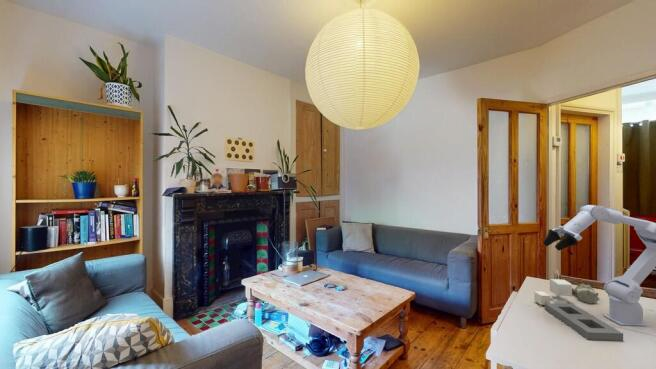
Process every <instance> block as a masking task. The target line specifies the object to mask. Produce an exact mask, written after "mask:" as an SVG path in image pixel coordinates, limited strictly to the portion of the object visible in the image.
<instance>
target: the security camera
mask: <svg viewBox="0 0 656 369" xmlns="http://www.w3.org/2000/svg"><path fill="white" fill-rule="evenodd" d="M572 288H573V285H572V283H571V282H569V281H567V280H565V279H559V278H558V279H557V278H555V279H554V278H550V279H549V291H550V292H551V293H552V294H554V295H550V301H552V302H553V303H559V304H569V302H568V299H565V298H564V297H565V296H566V297H572V296H573V293H572Z"/></svg>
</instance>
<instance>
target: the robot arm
mask: <svg viewBox="0 0 656 369" xmlns="http://www.w3.org/2000/svg"><path fill="white" fill-rule="evenodd" d="M596 221H599V222H600V221H601V222H604V223H608V224H612V225H618V224H624V225H629V226H631V227H634V228H633V229H634V230H635V232H636V234H637V236H638V237H639V240H641V242H642V243H643V244H644V245H645V247H646V248H645V249H644V250H643V251H642V253H641V254H640V255H639V256H638V257H637V258H636V260H635V261H633V263H632V264H631V265H630V266H629V267H628V269H627V270H626V271H625V272H624V273H623V275H621V276H620V275H619V276H615V277H613V278H612V279H611V280H608V281H606V283H605V284H604V286H603V289H604V292H605V293H606V294H607V297H609V298H608V300H609V301H608V303H609V306H608V308H609V311H608V312H609V313H608V314H605V313H604V314H603V316H604V317H606V318H607V319H609V320H611V321H613V322H614V323H616V324H618V325H620V326H639V327H640V326H644V327H645V326H646V323H645V324H644V309H643V307H642V305H641V304H640V302H639V301H640V299H641V295H642V294H643V293H644V290H643V289H642V287H641V284H642V283H643V282H644V281H645V279H646V278H647V277H648V276H649V275H650V274H651V273H652V272H653V270H654V269H655V268H656V222H653V221H649V220H646V219H641V218H637V217H636V218H635V217H631V216H626V215H624V214H623V213H622V212H621V211H619V210H618V209H617V208H607V207H605V206H602V205H594V204H587V205H584V206H581V207H580V210H579V212H578V213H577V214H576V215H575V216H574V217H572V219H570V220H569V221H568V222H566V223H565V224H564V225H563V226H562V225H559V226H558V228H557V227H556V228H554V227H553V229H551V228H550V229H548V233H547V235H546V237H545V238H544V240H543V241H542V244H543V245H544V246H545V247H548V246H550V245H552V244H553V243H556V242H557V243H556V244H555V246H554V248H555V249H556V250H557V251H559V252H560V251H562V250H564V249H566V248H568V247H572V246H578V245H579V243H578V242H579V241H581V240H582V239H583V237H582V236H581V235H580V234H581V233H582V232H583V231H585V230H586V229H587V228H588V227H590V226H591V225H592V224H593V223H595V222H596ZM561 236H562V237H561Z"/></svg>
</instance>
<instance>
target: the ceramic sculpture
mask: <svg viewBox="0 0 656 369" xmlns="http://www.w3.org/2000/svg"><path fill="white" fill-rule="evenodd" d="M572 294H574V295H576V296H577V298H578V299H579V300H580V301H581V302H583V303H586V304H594V303H596V302H597V301H598V299H599V293H598V292H596V291H595V290H594V288H593V287H592V286H591V285H590V284H589V283H586V282H583V283H578V284H577V286H576V287H575V288H573V287H572Z"/></svg>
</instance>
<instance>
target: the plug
mask: <svg viewBox="0 0 656 369" xmlns="http://www.w3.org/2000/svg"><path fill="white" fill-rule="evenodd" d="M533 292H534V293H533V294H534V298H533V299H534V301H535V302H536V303H538V305H539V306H545V303H551V300H550V296H551V295H550V294H548V293H546V292H544V291H543V290H542V291H539V290H538V291H536V290H535V291H533Z"/></svg>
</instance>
